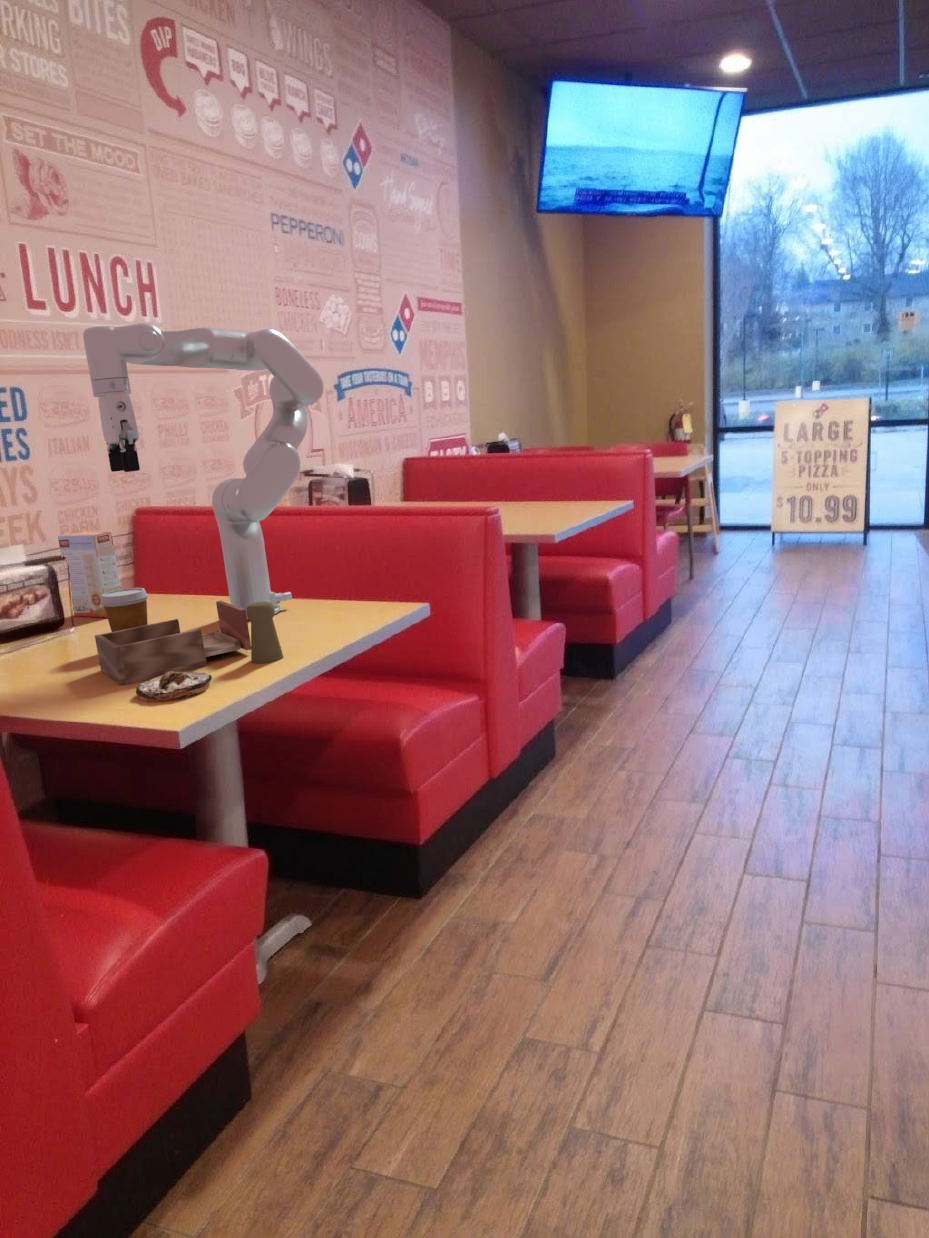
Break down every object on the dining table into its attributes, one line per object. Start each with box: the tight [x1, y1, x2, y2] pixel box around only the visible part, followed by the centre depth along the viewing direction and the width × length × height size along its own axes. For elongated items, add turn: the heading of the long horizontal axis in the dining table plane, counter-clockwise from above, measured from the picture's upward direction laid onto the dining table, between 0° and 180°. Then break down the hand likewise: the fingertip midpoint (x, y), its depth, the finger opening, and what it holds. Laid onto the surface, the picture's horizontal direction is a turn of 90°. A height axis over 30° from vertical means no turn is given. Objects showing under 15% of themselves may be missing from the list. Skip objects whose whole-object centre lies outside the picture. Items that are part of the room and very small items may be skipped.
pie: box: [135, 671, 213, 703], centre depth 169 cm, size 15×15×4 cm
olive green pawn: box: [246, 601, 284, 664], centre depth 185 cm, size 6×6×11 cm
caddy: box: [94, 618, 208, 686], centre depth 186 cm, size 16×15×7 cm
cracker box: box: [57, 531, 122, 619], centre depth 245 cm, size 14×6×21 cm, turn 58°
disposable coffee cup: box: [100, 587, 149, 632], centre depth 205 cm, size 10×10×12 cm
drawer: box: [202, 600, 251, 658], centre depth 191 cm, size 16×14×8 cm
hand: (125, 471), depth 207 cm, fingers open, 9 cm apart
